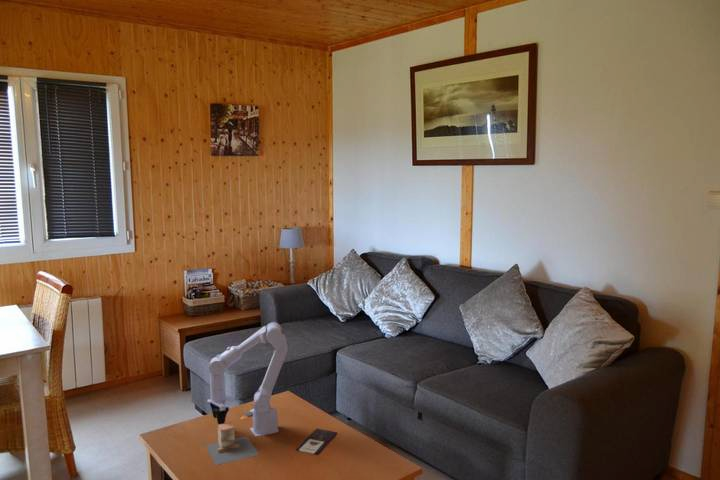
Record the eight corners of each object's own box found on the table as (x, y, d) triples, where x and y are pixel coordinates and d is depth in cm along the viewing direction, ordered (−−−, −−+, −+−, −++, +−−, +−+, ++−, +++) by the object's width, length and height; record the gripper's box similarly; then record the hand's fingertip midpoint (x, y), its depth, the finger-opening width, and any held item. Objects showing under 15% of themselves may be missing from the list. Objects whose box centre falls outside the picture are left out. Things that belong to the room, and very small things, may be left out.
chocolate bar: (337, 432, 227) (317, 453, 210) (337, 434, 227) (317, 456, 210) (316, 428, 230) (295, 449, 213) (316, 430, 230) (295, 451, 214)
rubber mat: (246, 437, 224) (246, 436, 224) (259, 455, 210) (259, 454, 210) (205, 446, 216) (205, 445, 216) (215, 466, 202) (215, 465, 202)
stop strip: (239, 446, 215) (238, 443, 215) (239, 448, 215) (239, 445, 214) (217, 451, 212) (217, 448, 212) (218, 453, 211) (218, 449, 211)
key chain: (252, 411, 249) (252, 407, 248) (259, 412, 247) (259, 409, 247) (232, 423, 237) (232, 419, 237) (239, 425, 236) (239, 421, 235)
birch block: (231, 441, 219) (230, 422, 218) (234, 447, 215) (234, 427, 214) (218, 444, 217) (217, 424, 216) (221, 450, 213) (220, 430, 212)
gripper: (203, 383, 228) (204, 415, 230) (211, 396, 215) (212, 430, 217) (221, 380, 231) (222, 412, 233) (230, 393, 218) (231, 427, 220)
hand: (218, 421), depth 225 cm, fingers open, 7 cm apart
